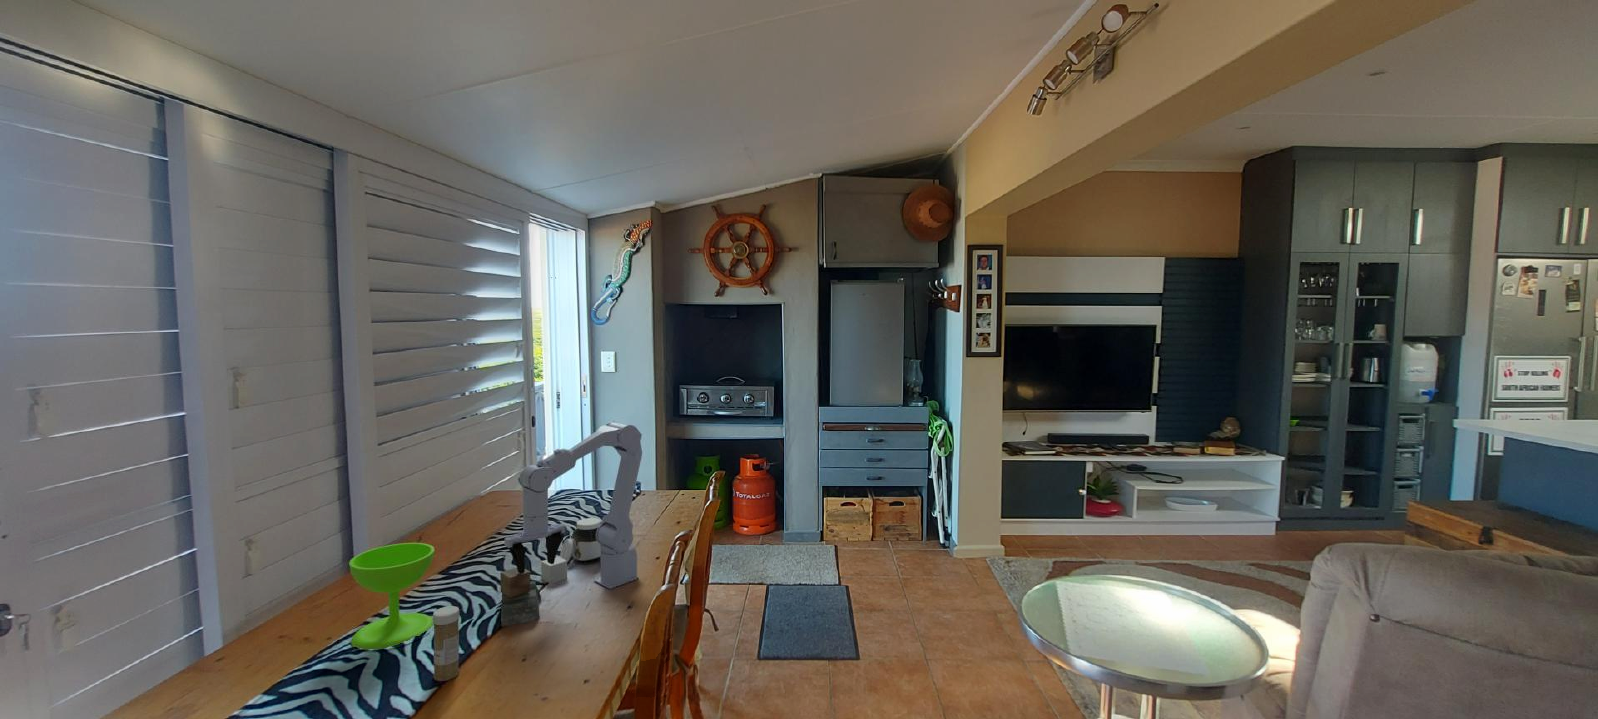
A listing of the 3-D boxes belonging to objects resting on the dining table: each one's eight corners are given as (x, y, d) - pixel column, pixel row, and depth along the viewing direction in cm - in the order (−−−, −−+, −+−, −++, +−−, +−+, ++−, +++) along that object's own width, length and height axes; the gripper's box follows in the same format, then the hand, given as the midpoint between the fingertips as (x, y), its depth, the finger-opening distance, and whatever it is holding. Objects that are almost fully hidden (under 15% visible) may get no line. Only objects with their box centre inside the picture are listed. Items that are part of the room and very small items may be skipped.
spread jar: (609, 558, 181) (610, 521, 181) (578, 571, 172) (578, 531, 171) (584, 550, 188) (584, 514, 187) (552, 561, 178) (552, 523, 178)
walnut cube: (520, 585, 150) (520, 566, 150) (530, 591, 147) (530, 571, 147) (500, 592, 147) (500, 572, 146) (509, 598, 143) (509, 577, 143)
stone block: (540, 596, 156) (540, 577, 156) (542, 621, 143) (542, 600, 143) (502, 602, 152) (502, 582, 152) (500, 628, 139) (500, 606, 139)
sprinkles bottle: (430, 676, 119) (429, 610, 119) (454, 666, 123) (454, 602, 122) (438, 685, 116) (437, 618, 116) (463, 675, 120) (463, 610, 119)
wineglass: (451, 622, 141) (450, 548, 140) (385, 657, 126) (383, 574, 125) (402, 611, 146) (401, 539, 145) (332, 643, 131) (331, 562, 130)
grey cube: (557, 573, 170) (557, 556, 170) (567, 578, 167) (567, 560, 167) (541, 578, 166) (541, 561, 166) (550, 583, 163) (550, 566, 163)
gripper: (513, 524, 140) (514, 581, 140) (571, 510, 151) (571, 563, 152) (500, 518, 144) (501, 573, 145) (557, 505, 155) (557, 555, 156)
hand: (536, 567), depth 149 cm, fingers open, 7 cm apart
